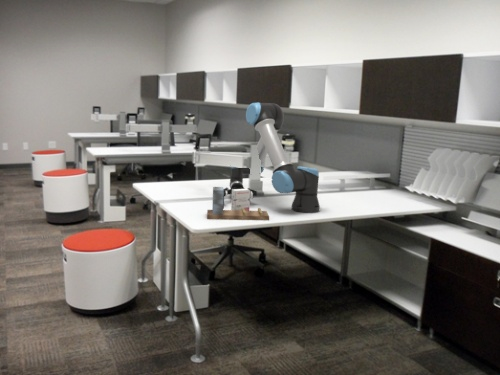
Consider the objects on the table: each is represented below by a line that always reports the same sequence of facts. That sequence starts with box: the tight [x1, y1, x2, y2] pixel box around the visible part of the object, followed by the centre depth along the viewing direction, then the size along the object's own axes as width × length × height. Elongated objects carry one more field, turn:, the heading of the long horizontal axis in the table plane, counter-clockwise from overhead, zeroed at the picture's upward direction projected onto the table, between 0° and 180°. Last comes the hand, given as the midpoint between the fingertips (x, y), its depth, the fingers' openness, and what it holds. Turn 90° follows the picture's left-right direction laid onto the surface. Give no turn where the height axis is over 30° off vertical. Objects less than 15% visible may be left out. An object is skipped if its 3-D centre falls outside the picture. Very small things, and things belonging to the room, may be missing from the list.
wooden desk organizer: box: [206, 186, 270, 221], centre depth 234 cm, size 30×11×14 cm, turn 95°
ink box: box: [230, 188, 251, 211], centre depth 246 cm, size 9×5×12 cm, turn 118°
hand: (239, 195), depth 254 cm, fingers open, 13 cm apart
